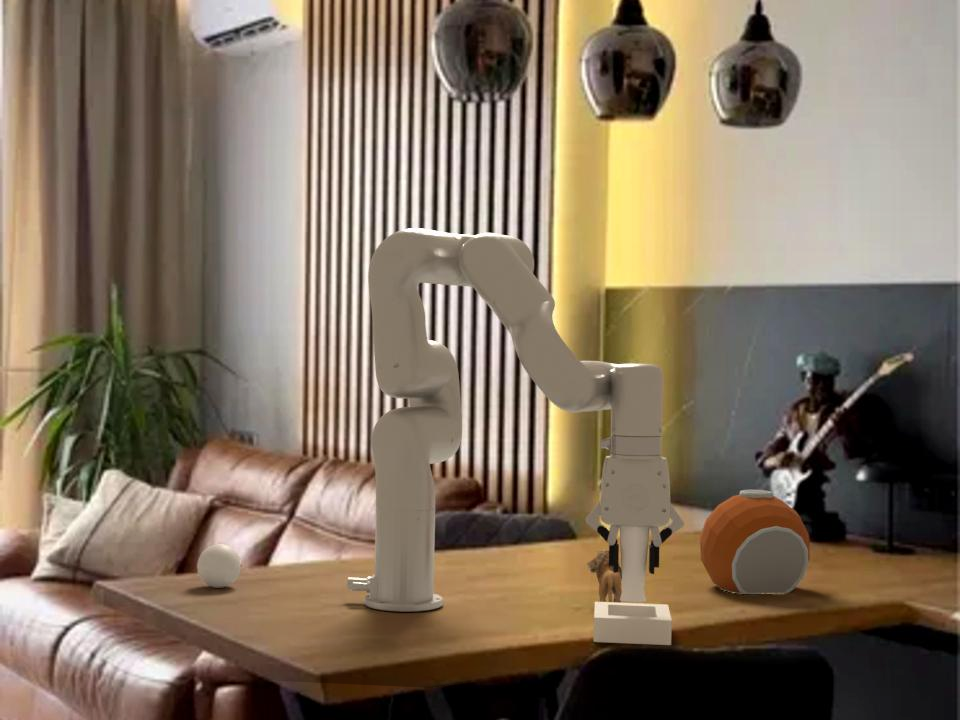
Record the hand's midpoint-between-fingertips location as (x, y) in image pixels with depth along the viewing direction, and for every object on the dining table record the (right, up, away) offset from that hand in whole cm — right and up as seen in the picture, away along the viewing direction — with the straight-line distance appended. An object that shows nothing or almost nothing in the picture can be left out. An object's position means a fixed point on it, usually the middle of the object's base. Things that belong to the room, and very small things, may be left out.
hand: (633, 570), depth 204 cm
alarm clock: (+25, -10, +40) cm, 48 cm away
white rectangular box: (0, -9, 0) cm, 9 cm away
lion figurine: (-2, -9, +18) cm, 20 cm away
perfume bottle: (0, -5, 0) cm, 5 cm away
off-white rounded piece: (-67, -8, +31) cm, 74 cm away
